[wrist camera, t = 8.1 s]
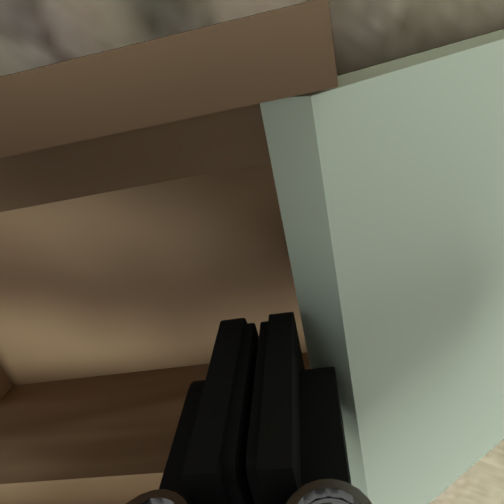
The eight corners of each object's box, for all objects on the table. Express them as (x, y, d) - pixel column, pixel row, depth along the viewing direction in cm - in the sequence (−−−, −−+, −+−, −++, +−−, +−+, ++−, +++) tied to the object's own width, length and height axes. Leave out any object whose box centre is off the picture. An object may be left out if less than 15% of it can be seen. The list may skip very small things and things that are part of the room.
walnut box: (-135, 127, 16) (-584, 220, 8) (305, 23, 13) (327, -3, 5) (27, 411, 21) (-131, 634, 13) (355, 378, 19) (402, 630, 11)
